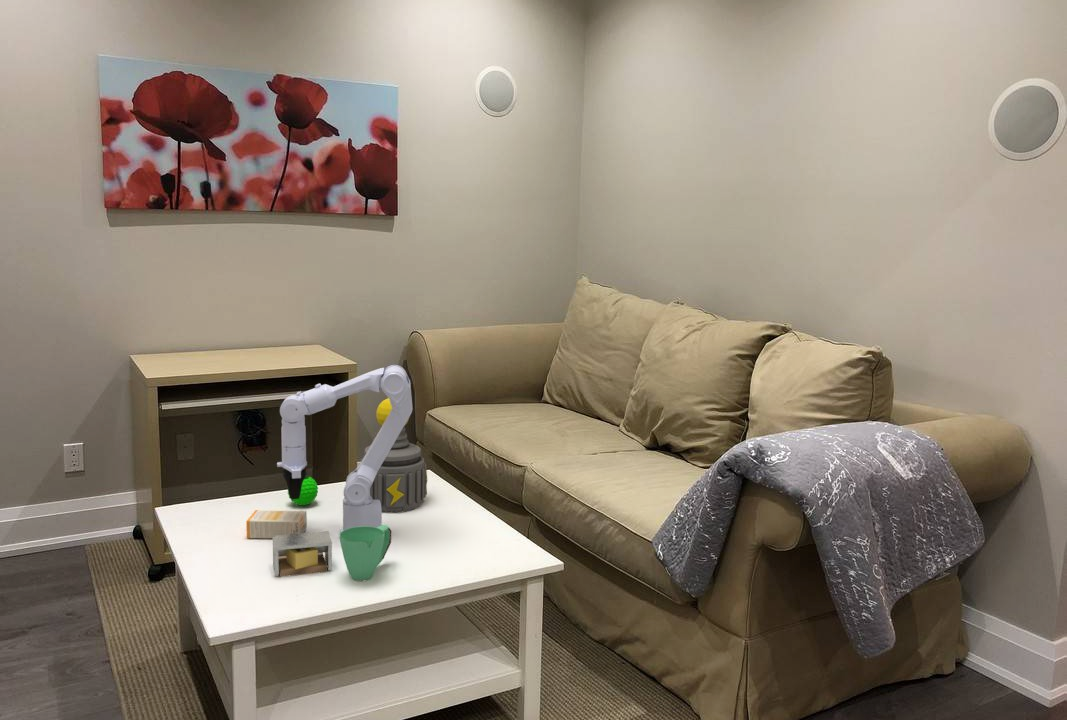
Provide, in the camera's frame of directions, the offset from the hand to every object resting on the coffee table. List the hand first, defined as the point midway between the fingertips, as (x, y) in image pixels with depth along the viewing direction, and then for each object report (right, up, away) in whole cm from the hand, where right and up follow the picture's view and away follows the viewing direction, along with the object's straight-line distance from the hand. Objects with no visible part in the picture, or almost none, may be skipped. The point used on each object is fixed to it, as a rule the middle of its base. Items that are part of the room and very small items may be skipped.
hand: (294, 498), depth 219 cm
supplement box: (-12, -7, +3) cm, 14 cm away
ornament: (-4, -6, +25) cm, 26 cm away
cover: (+6, -13, -17) cm, 23 cm away
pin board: (+5, -12, -13) cm, 19 cm away
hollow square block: (+7, -12, -18) cm, 23 cm away
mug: (+22, -14, -19) cm, 32 cm away
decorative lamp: (+19, -6, +30) cm, 36 cm away
